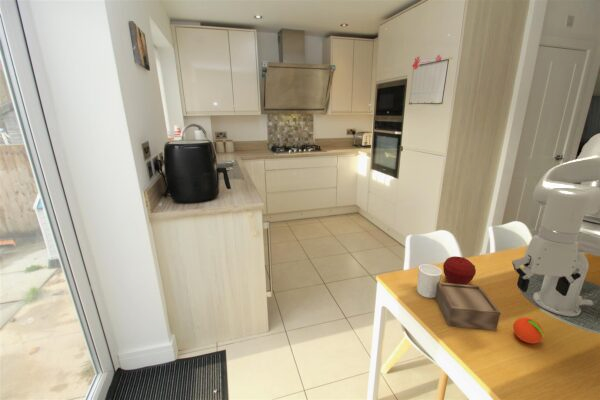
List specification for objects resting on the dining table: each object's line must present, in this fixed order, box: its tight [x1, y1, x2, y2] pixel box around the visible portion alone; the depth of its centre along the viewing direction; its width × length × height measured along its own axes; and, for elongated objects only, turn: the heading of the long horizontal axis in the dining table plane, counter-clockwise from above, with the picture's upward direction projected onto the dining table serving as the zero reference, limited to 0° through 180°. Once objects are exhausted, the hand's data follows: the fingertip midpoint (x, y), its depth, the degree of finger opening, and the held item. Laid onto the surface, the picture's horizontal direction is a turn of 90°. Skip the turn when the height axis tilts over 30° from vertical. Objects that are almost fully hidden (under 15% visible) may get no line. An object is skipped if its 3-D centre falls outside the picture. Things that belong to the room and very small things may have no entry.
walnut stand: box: [434, 282, 501, 332], centre depth 93 cm, size 14×14×7 cm
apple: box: [442, 256, 477, 285], centre depth 109 cm, size 11×11×12 cm
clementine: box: [512, 317, 544, 344], centre depth 82 cm, size 8×7×7 cm
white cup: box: [416, 263, 443, 299], centre depth 104 cm, size 8×8×10 cm
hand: (540, 291), depth 78 cm, fingers open, 9 cm apart
